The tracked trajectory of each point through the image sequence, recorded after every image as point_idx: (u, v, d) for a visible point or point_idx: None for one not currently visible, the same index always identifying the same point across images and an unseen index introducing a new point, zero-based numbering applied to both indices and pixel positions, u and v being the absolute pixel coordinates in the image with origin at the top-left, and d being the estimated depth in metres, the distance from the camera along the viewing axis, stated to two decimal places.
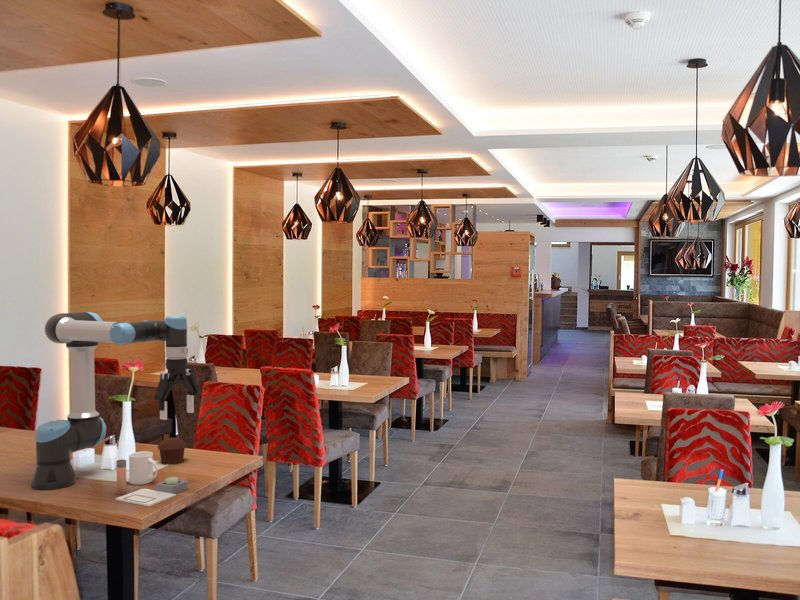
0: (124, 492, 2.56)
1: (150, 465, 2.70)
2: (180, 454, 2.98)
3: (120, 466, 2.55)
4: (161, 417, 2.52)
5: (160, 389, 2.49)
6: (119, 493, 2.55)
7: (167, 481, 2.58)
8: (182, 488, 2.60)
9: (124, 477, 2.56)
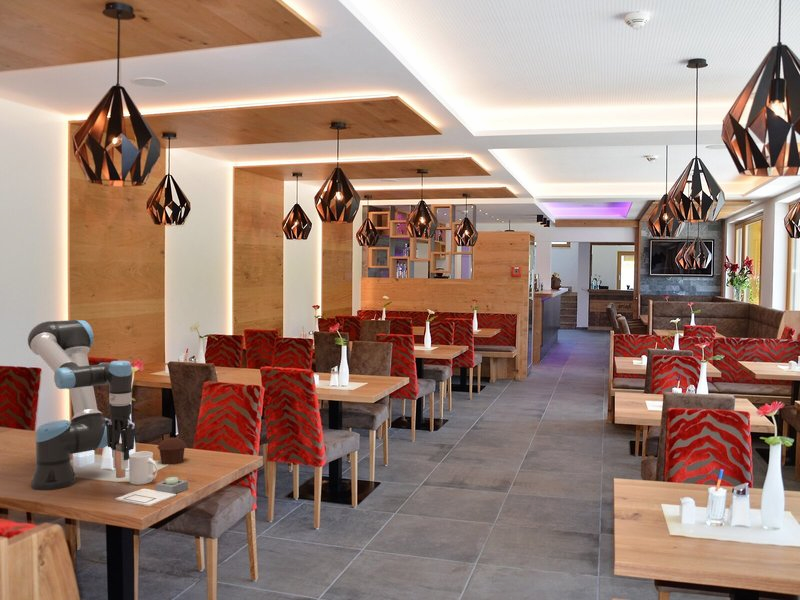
0: (123, 475, 2.56)
1: (150, 465, 2.70)
2: (180, 454, 2.98)
3: (119, 449, 2.55)
4: None
5: None
6: (118, 476, 2.56)
7: (167, 481, 2.58)
8: (182, 488, 2.60)
9: None
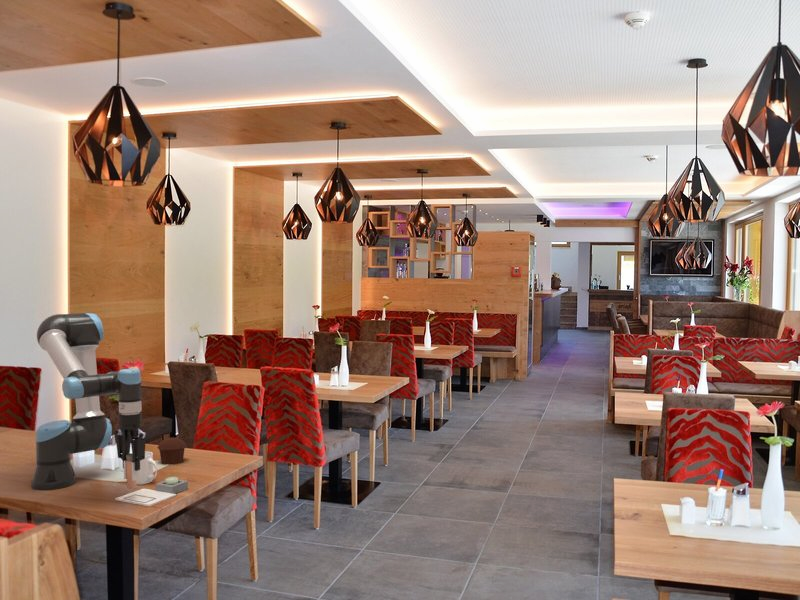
0: (134, 486, 2.49)
1: (150, 465, 2.70)
2: (180, 454, 2.98)
3: (130, 460, 2.49)
4: None
5: None
6: (129, 487, 2.49)
7: (167, 481, 2.58)
8: (182, 488, 2.60)
9: None
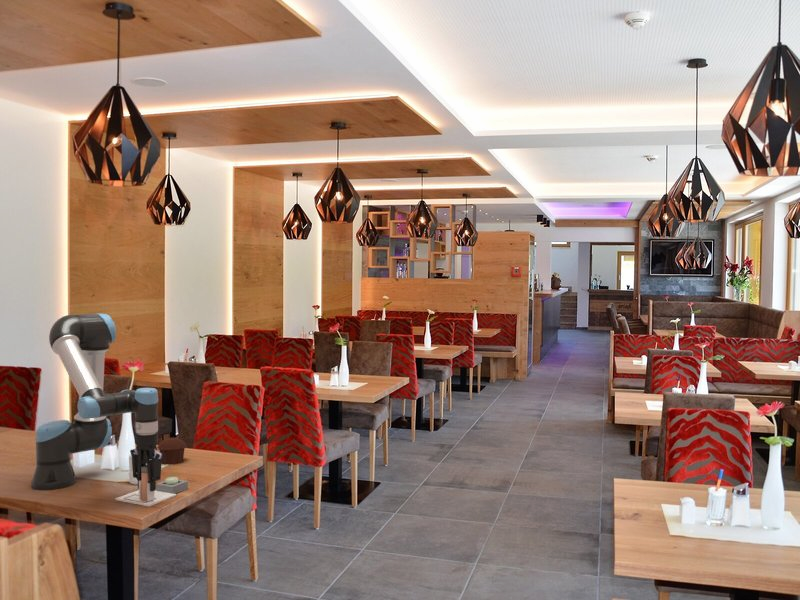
0: None
1: None
2: (180, 454, 2.98)
3: (145, 472, 2.46)
4: None
5: None
6: (143, 500, 2.46)
7: (167, 481, 2.58)
8: (182, 488, 2.60)
9: None
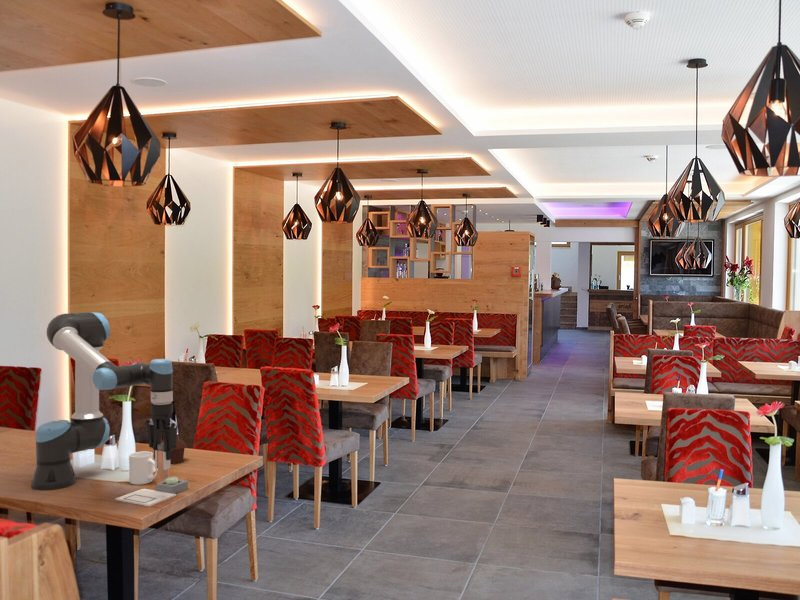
0: (165, 476, 2.51)
1: (150, 465, 2.70)
2: (180, 454, 2.98)
3: (161, 449, 2.50)
4: None
5: None
6: (160, 477, 2.50)
7: (167, 481, 2.58)
8: (182, 488, 2.60)
9: None
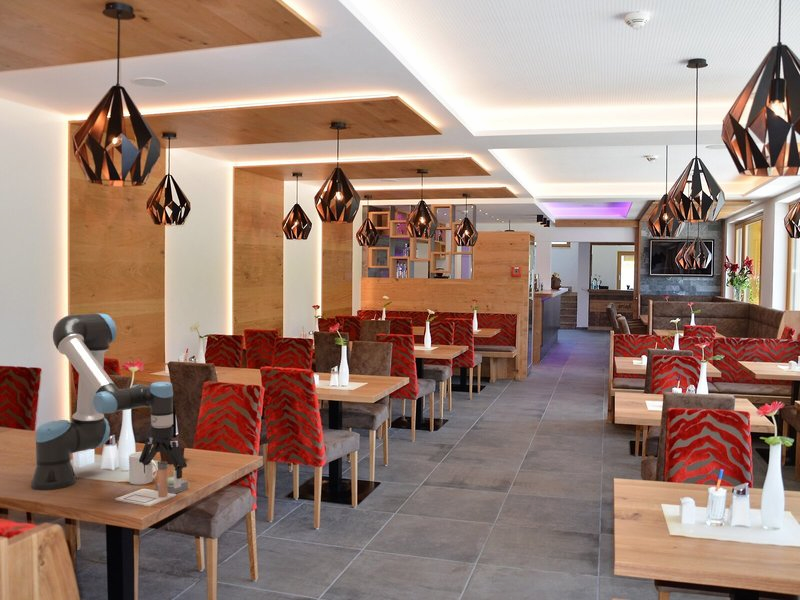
0: (165, 494, 2.51)
1: None
2: None
3: (161, 468, 2.50)
4: None
5: None
6: (160, 496, 2.50)
7: None
8: (182, 488, 2.60)
9: (165, 479, 2.51)
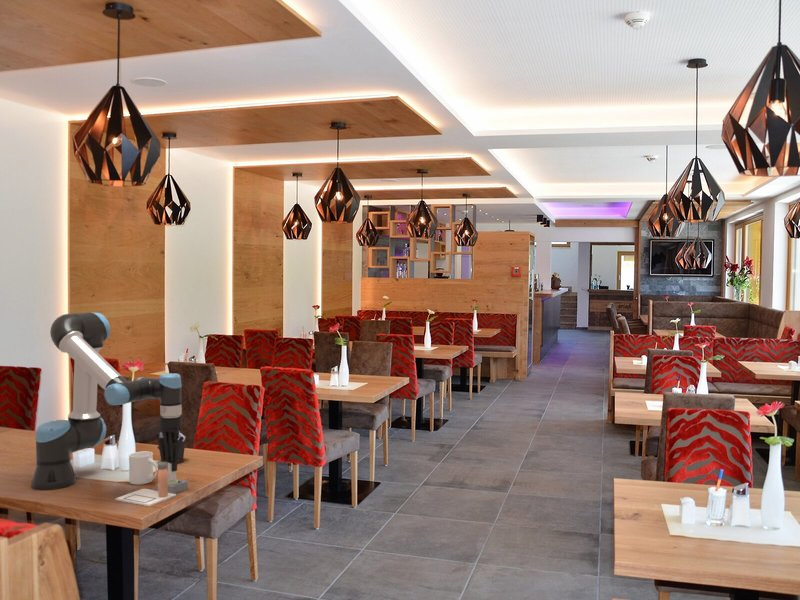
0: (165, 494, 2.51)
1: (150, 465, 2.70)
2: None
3: (161, 468, 2.50)
4: None
5: None
6: (160, 496, 2.50)
7: None
8: (182, 488, 2.60)
9: (165, 479, 2.51)
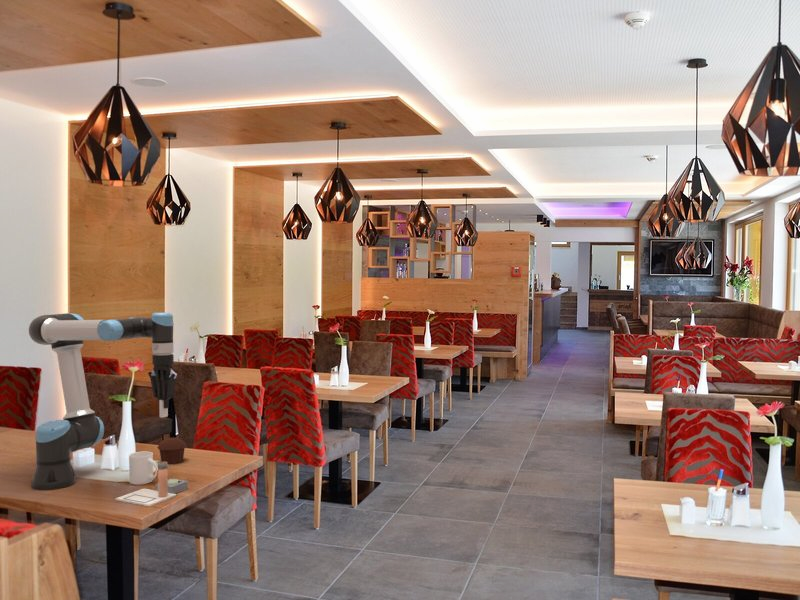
0: (165, 494, 2.51)
1: (150, 465, 2.70)
2: (180, 454, 2.98)
3: (161, 468, 2.50)
4: None
5: None
6: (160, 496, 2.50)
7: None
8: (182, 488, 2.60)
9: (165, 479, 2.51)
